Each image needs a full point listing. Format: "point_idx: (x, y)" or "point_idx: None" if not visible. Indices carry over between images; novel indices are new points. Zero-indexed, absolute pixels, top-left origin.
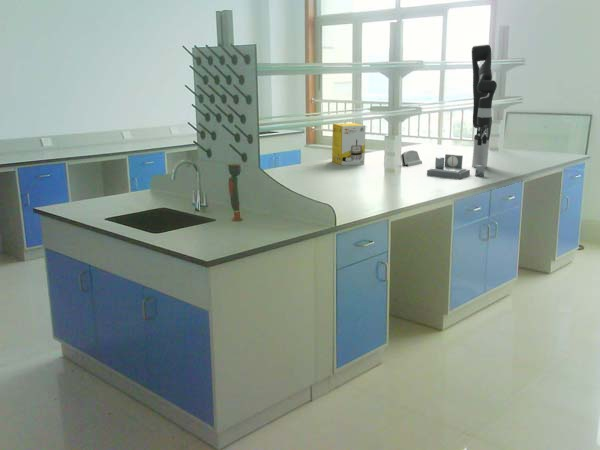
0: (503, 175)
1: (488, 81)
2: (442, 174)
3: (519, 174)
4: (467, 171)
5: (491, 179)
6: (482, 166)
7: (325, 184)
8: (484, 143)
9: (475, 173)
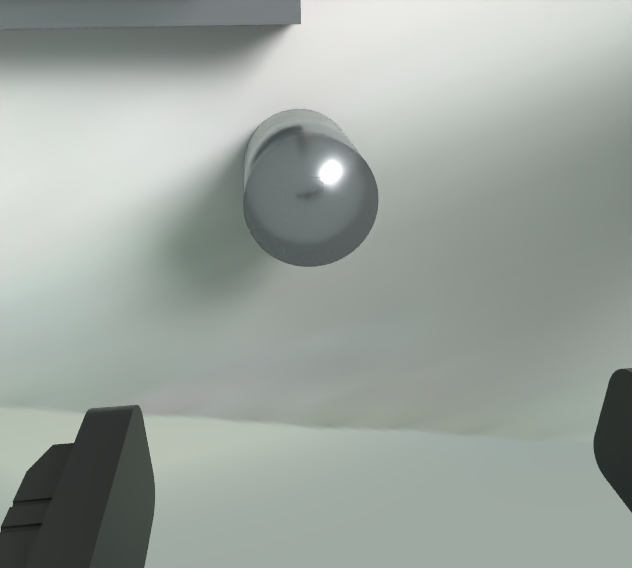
0: (480, 348)
1: None
2: None
3: None
4: (191, 25)
5: (178, 342)
6: (278, 249)
7: None
8: (606, 425)
9: (265, 127)
